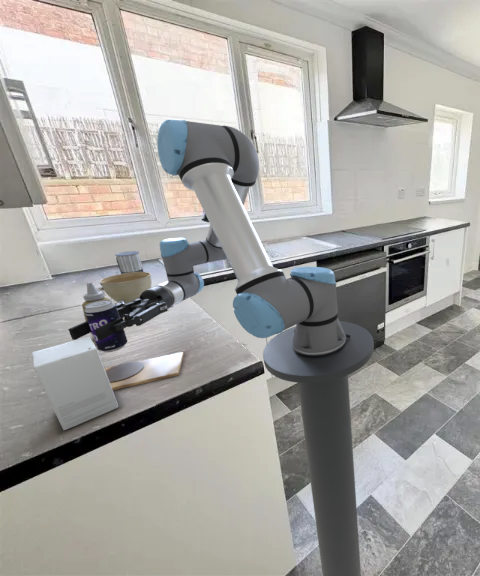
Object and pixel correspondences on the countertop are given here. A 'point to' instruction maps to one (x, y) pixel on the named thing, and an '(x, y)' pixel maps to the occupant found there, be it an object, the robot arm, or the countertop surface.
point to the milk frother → (129, 262)
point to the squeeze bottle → (92, 296)
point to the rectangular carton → (74, 381)
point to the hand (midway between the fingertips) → (85, 334)
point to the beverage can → (100, 316)
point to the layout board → (144, 370)
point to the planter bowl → (126, 285)
